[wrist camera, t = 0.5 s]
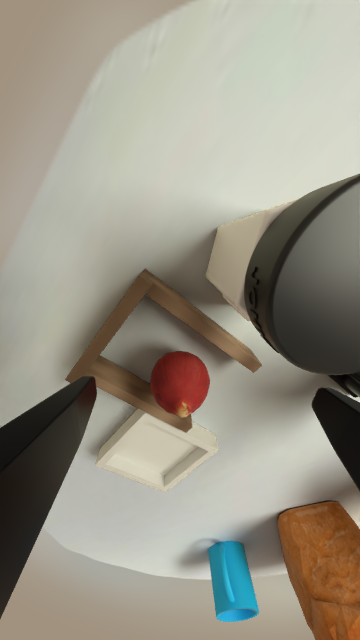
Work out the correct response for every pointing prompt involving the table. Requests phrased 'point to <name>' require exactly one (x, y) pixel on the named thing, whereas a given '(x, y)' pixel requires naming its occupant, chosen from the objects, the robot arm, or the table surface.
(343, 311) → the jar
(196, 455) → the tray
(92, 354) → the bay
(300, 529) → the bread
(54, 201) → the table surface
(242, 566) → the mug
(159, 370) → the onion
